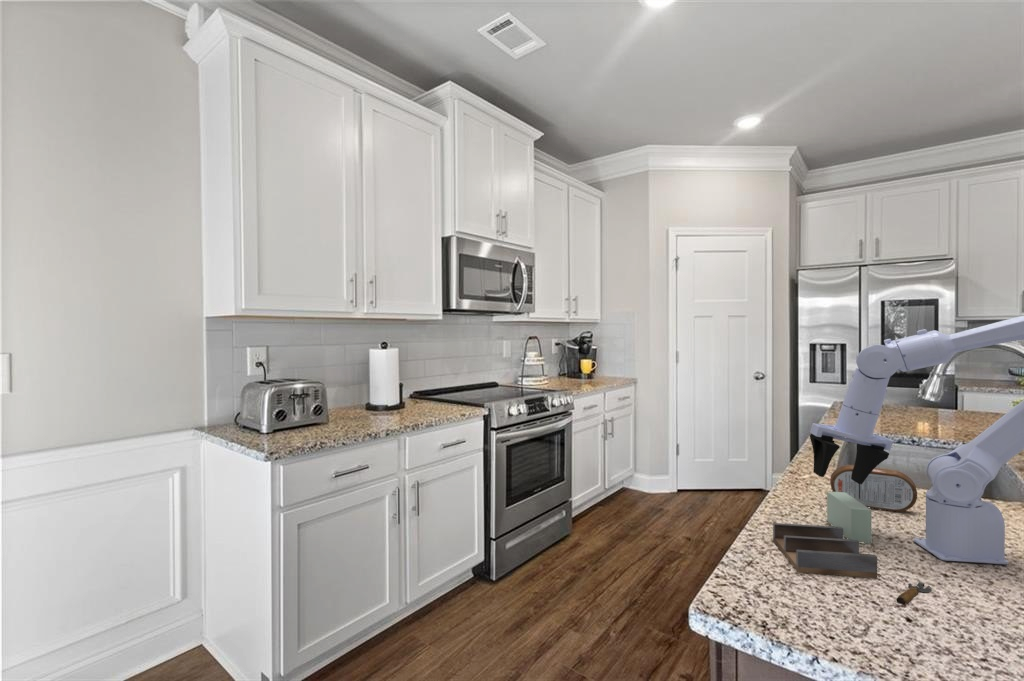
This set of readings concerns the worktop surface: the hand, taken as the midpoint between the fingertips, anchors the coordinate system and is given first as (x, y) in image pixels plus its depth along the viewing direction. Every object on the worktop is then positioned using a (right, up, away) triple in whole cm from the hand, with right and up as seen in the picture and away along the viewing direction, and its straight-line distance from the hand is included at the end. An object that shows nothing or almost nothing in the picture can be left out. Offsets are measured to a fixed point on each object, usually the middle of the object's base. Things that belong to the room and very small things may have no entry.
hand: (837, 478), depth 94 cm
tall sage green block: (+2, -10, 0) cm, 10 cm away
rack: (-10, -10, -11) cm, 18 cm away
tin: (+16, -10, +13) cm, 23 cm away
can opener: (-4, -11, -22) cm, 25 cm away
